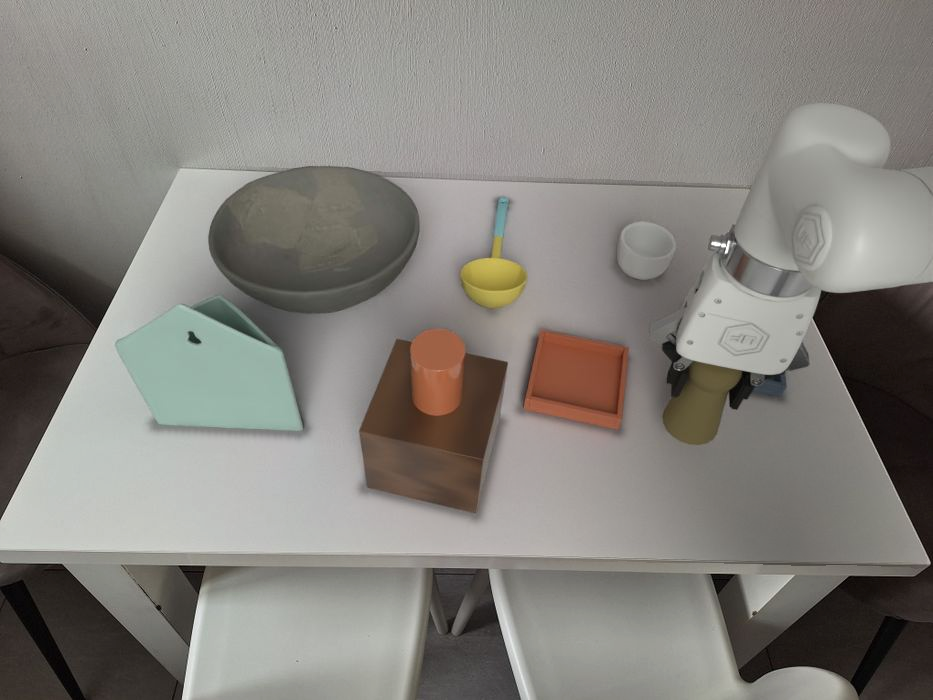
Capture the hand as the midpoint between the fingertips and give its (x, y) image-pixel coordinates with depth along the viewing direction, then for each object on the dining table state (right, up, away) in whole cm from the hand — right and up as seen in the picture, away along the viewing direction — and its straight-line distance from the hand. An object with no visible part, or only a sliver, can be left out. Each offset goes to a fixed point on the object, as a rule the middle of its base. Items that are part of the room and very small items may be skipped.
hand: (703, 391), depth 67 cm
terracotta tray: (-11, 0, +13) cm, 17 cm away
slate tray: (+10, +4, +17) cm, 20 cm away
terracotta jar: (-27, 0, -3) cm, 28 cm away
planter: (-51, -2, +9) cm, 52 cm away
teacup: (0, +17, +27) cm, 32 cm away
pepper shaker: (0, -4, +5) cm, 6 cm away
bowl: (-44, +14, +22) cm, 51 cm away
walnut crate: (-28, -7, +5) cm, 29 cm away
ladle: (-20, +18, +27) cm, 38 cm away
